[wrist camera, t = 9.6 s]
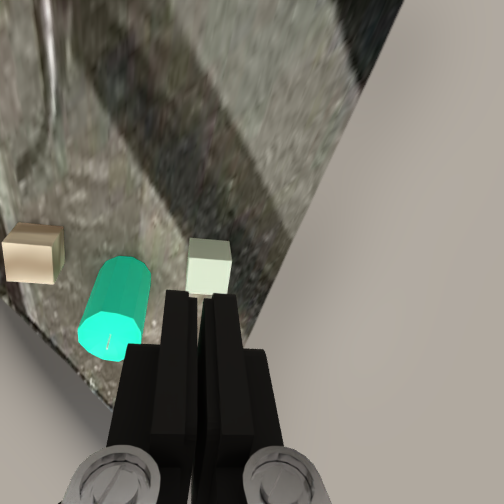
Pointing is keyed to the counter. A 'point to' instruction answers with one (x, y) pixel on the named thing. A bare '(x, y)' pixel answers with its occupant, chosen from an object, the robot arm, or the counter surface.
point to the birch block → (34, 253)
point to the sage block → (208, 266)
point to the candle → (116, 308)
